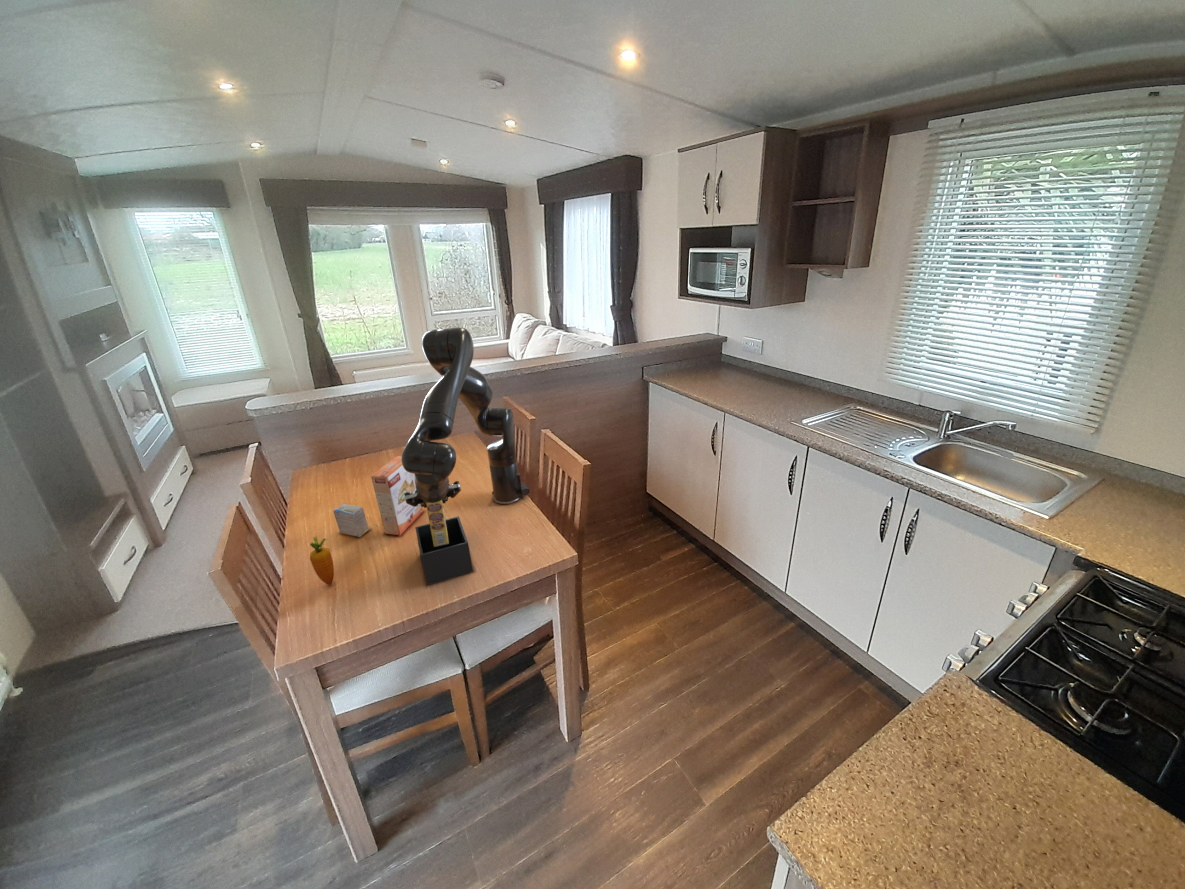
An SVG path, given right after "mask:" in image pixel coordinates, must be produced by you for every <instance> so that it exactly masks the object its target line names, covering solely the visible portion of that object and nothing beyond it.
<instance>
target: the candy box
mask: <svg viewBox="0 0 1185 889" xmlns="http://www.w3.org/2000/svg"><path fill="white" fill-rule="evenodd" d="M426 506H427V508H426V511H427V516H428V521H429V522H428V523H429V524H430V528H431V533H432V539H433V544H434V547H437V546H442V545H446V544H449V541H448V533H447V526H446V519H447V518H446V515H445V507H444V504H443V501H442V500H441V501H438V502H435V503H426Z"/></svg>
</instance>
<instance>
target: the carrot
mask: <svg viewBox="0 0 1185 889" xmlns="http://www.w3.org/2000/svg"><path fill="white" fill-rule="evenodd" d="M326 540H327V538H322V540H321V541H320V543H319V540H318V537H317V536H313V541H314V542H313V541H311V542H310V543H309V545H310V547H312V548H313V550H312V551H311V552H310V553H309V561H310V563H311V566H312V568H313V570H314V572H315V574H316V576H318V578H319V579H320V580H321V581H322V582H323V583H324V584H326V585H328V586H331V585H332V584H333V582H334V578H335V567H334V560H333V556H332V553H331V550H330V548H329V547H324V546H323V544H324V542H325V541H326Z"/></svg>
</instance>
